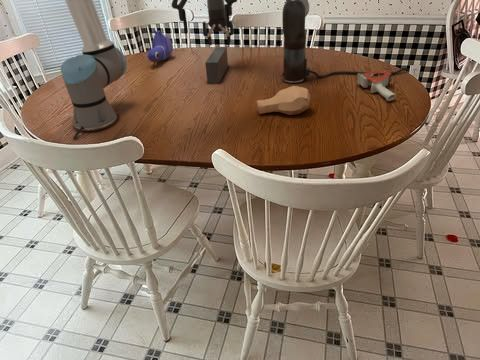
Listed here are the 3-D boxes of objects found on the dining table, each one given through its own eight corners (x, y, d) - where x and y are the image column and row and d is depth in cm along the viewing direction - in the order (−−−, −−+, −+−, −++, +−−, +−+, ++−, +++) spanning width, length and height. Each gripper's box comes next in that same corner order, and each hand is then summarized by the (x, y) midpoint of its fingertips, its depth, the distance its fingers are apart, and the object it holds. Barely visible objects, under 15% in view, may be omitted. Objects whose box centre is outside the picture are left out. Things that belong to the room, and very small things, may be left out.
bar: (219, 83, 159) (217, 62, 153) (207, 83, 160) (205, 62, 154) (228, 66, 177) (226, 46, 172) (217, 66, 178) (215, 46, 173)
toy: (161, 62, 200) (141, 68, 178) (157, 30, 193) (135, 32, 171) (177, 61, 198) (159, 67, 176) (173, 29, 191) (154, 30, 169)
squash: (314, 116, 128) (313, 95, 122) (259, 125, 130) (256, 105, 124) (308, 99, 136) (307, 78, 129) (257, 108, 138) (253, 88, 131)
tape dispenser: (391, 107, 134) (404, 85, 146) (394, 94, 130) (407, 73, 143) (345, 96, 141) (361, 77, 154) (348, 84, 138) (364, 65, 150)
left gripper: (238, -53, 107) (241, 22, 119) (154, -47, 102) (167, 31, 115) (244, -52, 101) (247, 27, 113) (156, -45, 96) (169, 36, 109)
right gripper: (233, 5, 160) (235, 42, 170) (202, 6, 163) (206, 42, 172) (230, 8, 154) (233, 46, 164) (198, 9, 157) (203, 47, 166)
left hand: (207, 29), depth 114 cm, fingers open, 13 cm apart
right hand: (219, 44), depth 168 cm, fingers open, 8 cm apart
